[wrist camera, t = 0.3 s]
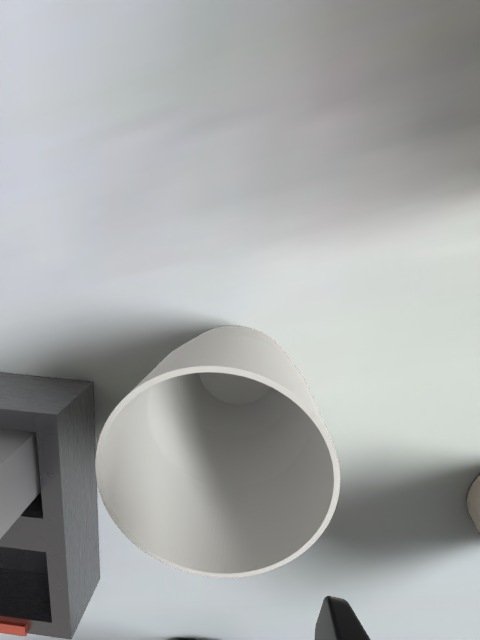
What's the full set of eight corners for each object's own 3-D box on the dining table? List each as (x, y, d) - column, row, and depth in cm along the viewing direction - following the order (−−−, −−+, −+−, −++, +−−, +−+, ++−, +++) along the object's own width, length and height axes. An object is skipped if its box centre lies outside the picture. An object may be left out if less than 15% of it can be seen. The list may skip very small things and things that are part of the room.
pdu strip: (99, 579, 26) (68, 644, 22) (-4, 565, 27) (-53, 627, 23) (93, 381, 22) (53, 417, 18) (-29, 369, 23) (-96, 401, 18)
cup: (156, 401, 22) (73, 534, 13) (193, 280, 20) (127, 330, 11) (277, 443, 22) (287, 606, 13) (327, 327, 20) (383, 418, 11)
